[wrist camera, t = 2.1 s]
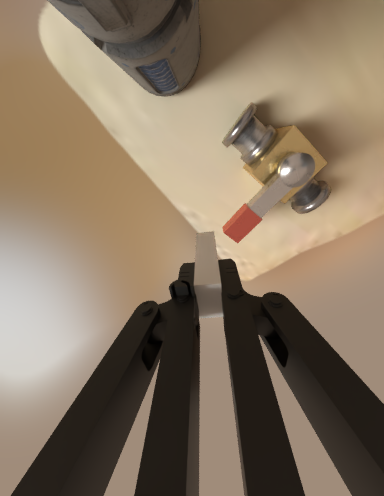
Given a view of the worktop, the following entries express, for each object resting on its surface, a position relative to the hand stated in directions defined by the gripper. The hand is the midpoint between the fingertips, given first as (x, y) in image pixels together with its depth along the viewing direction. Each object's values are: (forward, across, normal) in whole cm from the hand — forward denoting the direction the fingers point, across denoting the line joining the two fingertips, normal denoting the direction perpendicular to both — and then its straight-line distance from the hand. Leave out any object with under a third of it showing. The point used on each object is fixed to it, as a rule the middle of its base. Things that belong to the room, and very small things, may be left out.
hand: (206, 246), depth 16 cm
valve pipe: (+20, +12, +3) cm, 24 cm away
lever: (+13, +8, 0) cm, 15 cm away
